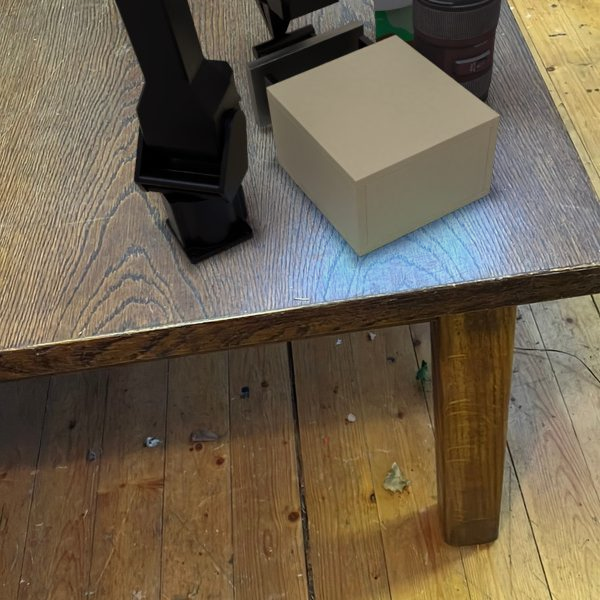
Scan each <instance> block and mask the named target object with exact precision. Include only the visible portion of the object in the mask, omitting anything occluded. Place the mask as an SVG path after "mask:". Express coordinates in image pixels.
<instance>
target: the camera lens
mask: <svg viewBox="0 0 600 600" xmlns="http://www.w3.org/2000/svg"><path fill="white" fill-rule="evenodd" d="M501 6H502V0H413V1H412V24H413V29H414V45H413V49H415V50H416V51H417V52H419V53H420V54H421V55H422V56H424V57H425V58H426V59H428V60H429V61H430V62H432V63H433V64H434V65H435V66H437V67H438V68H439V69H441V70H442V71H443V72H444V73H446V74H447V75H448V76H450V77H451V78H452V79H454V80H455V81H456V82H457V83H459V84H460V85H461V86H463V87H464V88H465V89H467V90H468V91H469V92H470V93H472V94H473V95H474V96H476V97H477V98H478V99H479V100H481V101H482V102H483V103H485V104H486V102H487V100H488V96H489V92H490V88H491V84H492V80H493V79H492V78H493V70H494V54H495V46H496V45H495V43H496V34H497V28H498V24H499V20H500V16H501V15H500V14H501Z"/></svg>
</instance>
